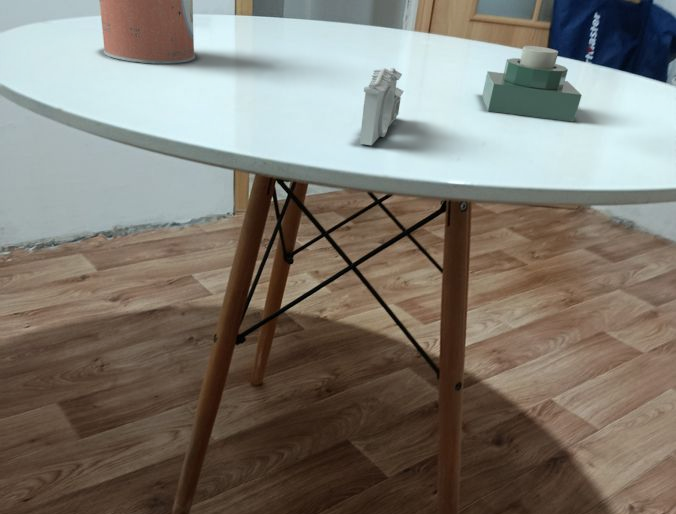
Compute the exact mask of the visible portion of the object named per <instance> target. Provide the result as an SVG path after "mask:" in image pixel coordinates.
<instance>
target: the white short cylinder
mask: <svg viewBox="0 0 676 514" xmlns="http://www.w3.org/2000/svg"><path fill="white" fill-rule="evenodd" d="M558 56H559V51H558V50H556V49H554V48H553V49H552V48H549V47H544V46H536V45H524V46H523V47H522V51H521V55H520V58H519V59H520V64H523V65H527V66H531V67H537V68H545V69H554V67H555V64H557V63H556V62H557V59H558Z"/></svg>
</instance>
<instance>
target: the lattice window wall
mask: <svg viewBox="0 0 676 514" xmlns="http://www.w3.org/2000/svg"><path fill="white" fill-rule="evenodd" d="M402 75H403V73H401V72H400V71H398V70H396V68H394V67H391V69H387V68H382V69H374V70H373V74H371V80H370V82H369V84H368V85H367V86H364V87H363V93H364V101H363V109H362V118H361V127H360V128H361V129H360V134H359V135H360V136H359V145H360V144H361V145H366V146H373V145H374V144H375V142H377V140H378V139H379V138H380V137H382V138H384V137H385V136H386V134H387V132H388V130H389V127H390V126H391V124H392V123H393V122H394V121H395V120H396V119H397V116H398V115H399V113H400V112H399V111H400V105H401V100H402V99H401V98H402V95H403V93H404V92H405V91H404V90H403V89H401V88H399V87H397V81H399V80H400V78H402Z"/></svg>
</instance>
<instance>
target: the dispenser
mask: <svg viewBox="0 0 676 514" xmlns="http://www.w3.org/2000/svg"><path fill="white" fill-rule="evenodd" d="M520 59H521V58H519V57H518V58H517V57H513V58H508V59H506V61H505V65H504V70H503V72H496V71H487V72H486V75H485V81H484V85H483V91H482V94H481V97H482V100H483V102H484V104H485V108H486V109H487V112H492V113H500V114H510V115H517V116H523V117H524V116H525V117H533V118H540V119H548V120H556V121H563V122H572V123H573V122H575V120H576V116H577V113H578V110H579V106H580V102H581V99H582V94H581V93H580V92H579V91H578V90H577V89H576V88H575V86H573V84H571V83H570V82H569V81H568V80H566V78H567V74H568V71H569V69H568V68H567V67H566V66H564V65H561V64H557V63H555V67H554V69H545V68H537V67H531V66H527V65H523V64H520Z"/></svg>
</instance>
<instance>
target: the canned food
mask: <svg viewBox="0 0 676 514" xmlns="http://www.w3.org/2000/svg"><path fill="white" fill-rule="evenodd" d="M193 3H194V2H193V0H99V10H100V18H101V19H100V20H101V29H102V40H103V48H104V49H103V53H104V54H105V55H106V56H107V57H110V58H111V59H112V58H113V59H116V60H120V61H126V62H132V63H139V64H140V63H141V64H157V65H171V64H182V63H183V64H184V63H188V62H191V61H193V60H195V58H196V55H195V44H194V43H195V42H194V41H195V39H194V38H195V37H194V7H193V6H194V5H193Z"/></svg>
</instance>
